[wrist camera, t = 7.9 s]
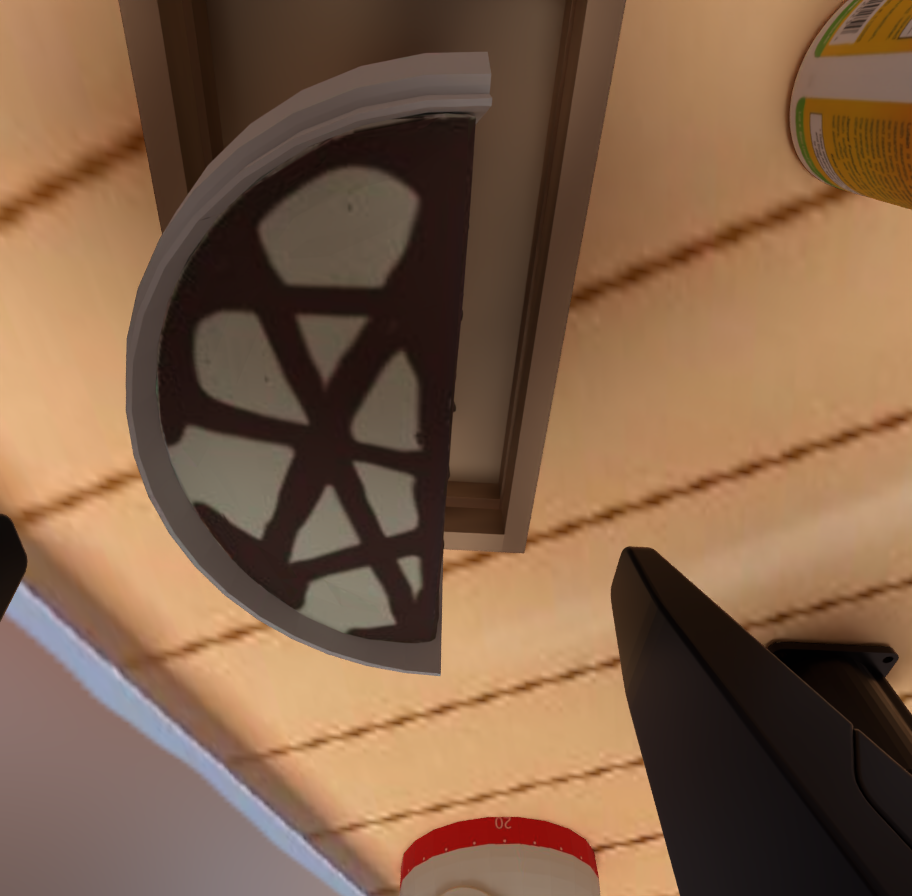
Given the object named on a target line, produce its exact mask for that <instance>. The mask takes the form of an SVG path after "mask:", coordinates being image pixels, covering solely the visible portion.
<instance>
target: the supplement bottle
mask: <svg viewBox="0 0 912 896" xmlns="http://www.w3.org/2000/svg"><path fill="white" fill-rule="evenodd" d="M790 130H791V136H792V140H793V144H794V147H795V150H796V153H797V155H798V157H799V159H800V160H801V162H802V163H803V165H804V166H805V168H806V169H807V170H808V171H809V172H810V173H811V174H812V175H814V176H815V177H816V178H818V179H819V180H821V181H823V182H824V183H826V184H828V185H831V186H833V187H836V188H839V189H842V190H845V191H848V192H851V193H855V194H859V195H862V196H866V197H870V198H873V199H876V200H880V201H883V202H887V203H890V204H894V205H898V206H901V207H904V208H908V209H912V0H848V1H847V2H846V3H845V4H843V5H842V6H841V7H840V8H839V9H838V10H837V11H836V12H835V14H834V15H833V16H832V17H831V18H830V19H829V20H828V22H827V23H826V24H825V25H824V27H823V28H822V29H821V31H820V32H819V33H818V35H817V36H816V38H815V39H814V41H813V42H812V44H811V46H810V47H809V49H808V51H807V53H806V55H805V57H804V59H803V61H802V64H801V66H800V68H799V71H798V74H797V77H796V80H795V84H794V87H793V92H792V97H791V104H790Z"/></svg>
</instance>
